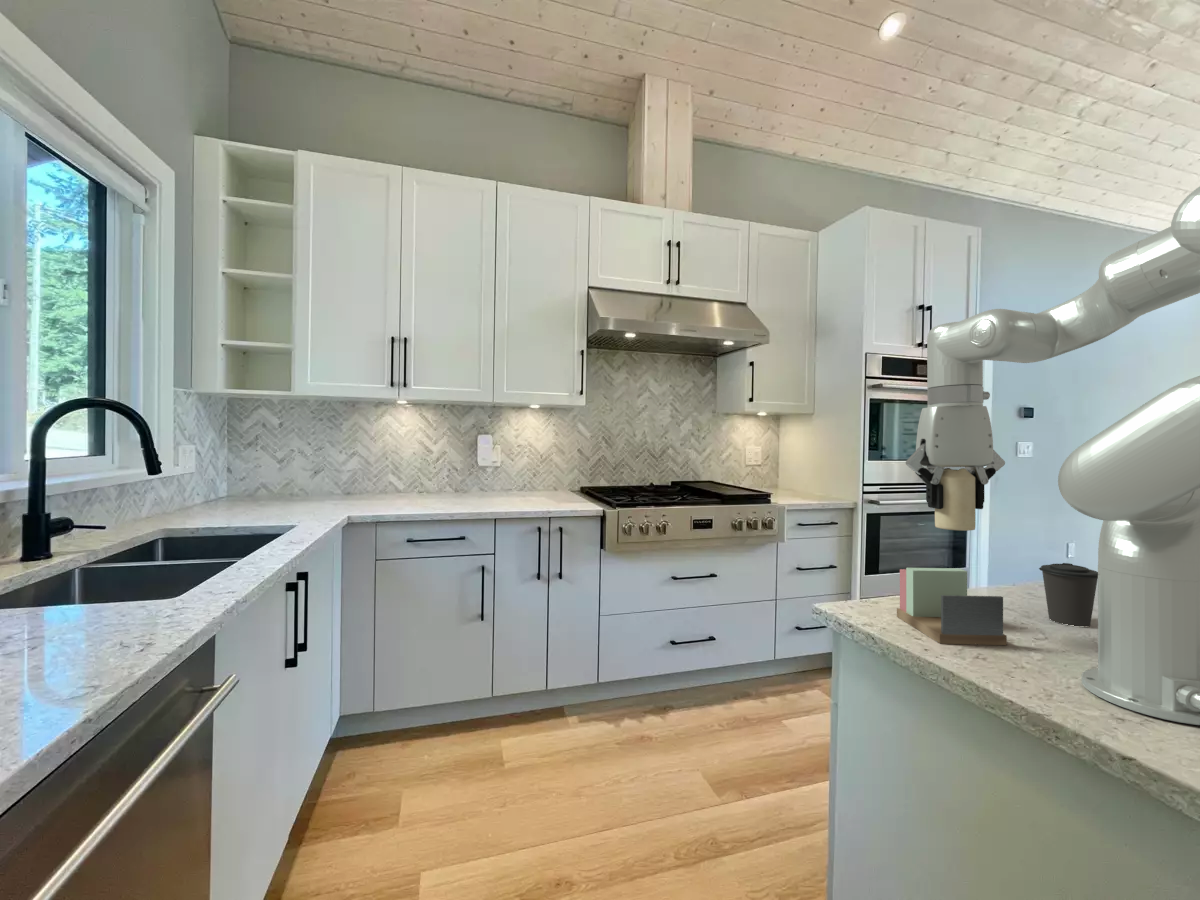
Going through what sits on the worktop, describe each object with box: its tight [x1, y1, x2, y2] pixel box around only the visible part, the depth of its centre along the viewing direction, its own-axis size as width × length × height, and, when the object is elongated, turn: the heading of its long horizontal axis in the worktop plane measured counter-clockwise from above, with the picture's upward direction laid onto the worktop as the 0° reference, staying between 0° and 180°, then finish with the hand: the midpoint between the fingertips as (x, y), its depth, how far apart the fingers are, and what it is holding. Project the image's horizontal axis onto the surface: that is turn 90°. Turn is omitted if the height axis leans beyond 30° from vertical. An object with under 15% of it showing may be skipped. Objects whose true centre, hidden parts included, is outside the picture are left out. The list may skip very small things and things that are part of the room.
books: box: [899, 567, 968, 617], centre depth 90 cm, size 4×9×8 cm, turn 86°
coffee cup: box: [1038, 562, 1098, 627], centre depth 89 cm, size 8×8×10 cm
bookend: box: [941, 595, 1004, 636], centre depth 79 cm, size 1×9×6 cm, turn 87°
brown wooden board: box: [896, 607, 1008, 646], centre depth 85 cm, size 13×10×2 cm
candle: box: [934, 467, 976, 532], centre depth 84 cm, size 6×6×10 cm
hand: (954, 507), depth 83 cm, fingers closed on candle, 5 cm apart
